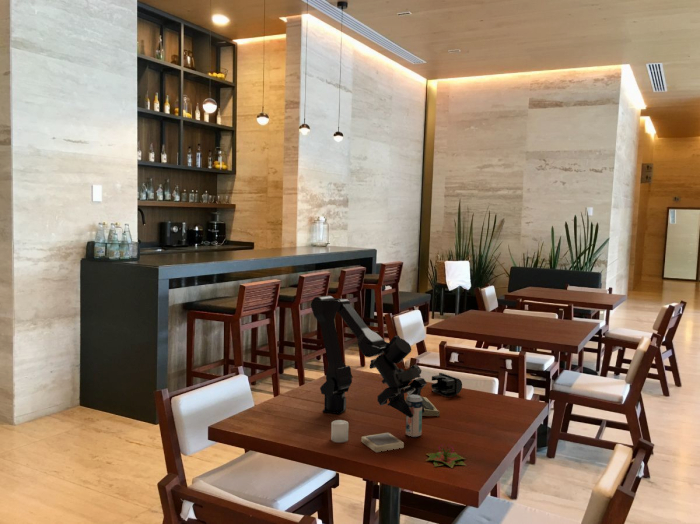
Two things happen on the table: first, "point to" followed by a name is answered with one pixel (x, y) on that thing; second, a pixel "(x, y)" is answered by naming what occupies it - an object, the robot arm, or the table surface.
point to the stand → (382, 442)
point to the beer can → (414, 416)
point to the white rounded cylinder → (339, 431)
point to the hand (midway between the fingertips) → (417, 414)
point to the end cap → (446, 385)
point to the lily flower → (446, 455)
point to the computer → (428, 408)
